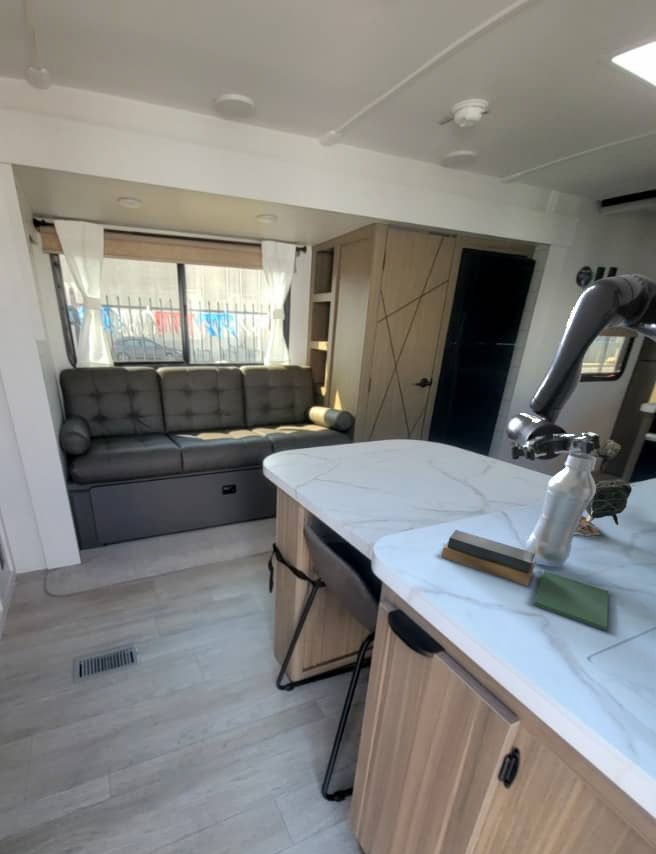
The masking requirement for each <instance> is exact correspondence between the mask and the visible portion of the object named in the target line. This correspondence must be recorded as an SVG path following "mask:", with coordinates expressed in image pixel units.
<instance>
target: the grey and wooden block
mask: <svg viewBox="0 0 656 854" xmlns="http://www.w3.org/2000/svg"><path fill="white" fill-rule="evenodd" d="M534 556H535V553H532V552H529V551H526V550H525V549H521V548H519V547H516V546H512V545H508V544H505V543H502V542H499V541H495V540H493V539H489V538H485V537H482V536H478V535H475V534H472V533H468V532H465V531H462V530H458V529H455V530H454V532H452V534H451V535H450V536H449V538H448V540H447V542H446V544H445V545H444V546H443V548H442V553H441V555H440V557H441V558H444V559H447V560H450V561H453V562H455V563H459V564H462V565H464V566H468V567H470V568H474V569H476V570H479V571H482V572H485V573H488V574H492V575H494V576H497V577H499V578H503V579H506V580H509V581H512V582H515V583H518V584H520V585H524V586H527V587H528V586H529V584H530V582H531V581H530V580H531V578H532V575H533V572H534V569H535V566H536V562H534V561H533V559H534Z"/></svg>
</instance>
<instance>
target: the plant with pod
mask: <svg viewBox="0 0 656 854" xmlns="http://www.w3.org/2000/svg"><path fill="white" fill-rule="evenodd" d="M621 448H622V447H621V445H620V444H619V443H617V442H615V440H613V439H606V440H604V442H603V443H602V444H601V445H600V448H598V449H596V450H595V452H596V453H595V454H594V455H593V456H594V457H596V458H602V459H604V462H603V465H602V467H601V470H600V472H599V475H598V477H597V479H596V480H595V481H594V482H595V485H596V493H595V494H594V496H593V498H592V500H591V501H590V503H589V504H588V506H587V508H586V509H585V511H586V512H587V516H584V515H582V516H581V518H580V520H579V522H578V524H577V526H576V529H575V533H574V535H579V536H584V537H591V536H599V535H604V533H602V532H601V531H600V530H598V528H597V527H596V525H594V523H592V522H593V521H594V520H595V519H601V518H605V517H612V519H613V521H614V524H615V525H616V526H619V524H620V523H619V521H618V520H619V518H618V515H619V514H622V513H623V512H624V511H625V509H626V508H627V504H628V499H629V498H630V495H631V493H632V490H633V488H632V486H633V487H635V484H632V486H631V484H630V483H628V482H626V481H625V480H623V479H609V480H607V479H603V480H601V478H602V476H603V474H604V471H605V469H606V467H607V465H608V462H609V461H610V460H613V459H614V458H615V457H616V456H617V454H618V453H619V452H620V450H621Z"/></svg>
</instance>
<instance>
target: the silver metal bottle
mask: <svg viewBox="0 0 656 854" xmlns="http://www.w3.org/2000/svg"><path fill="white" fill-rule="evenodd" d="M596 463H597V457H594V455H591V454H585V453H580V452H574V453H568V455H567V458H566V460H565V462H564V466H565V468H563V469H561V470H560V471H559V472H557V473H556V474H554V475H553V476H552V477H551V478H550V479H549V481H548V482H547V486H546V487H547V488H546V492H545V497H544V503H543V505H542V510H541V513H540V516H539V518H538V520H537V522H536V525H535V527H534V529H533V531H532V533H531V534H530V535H529V537H528V539H527V540H526V542H525V547H524V550H526V551H529V552H532V553H535V556H534V559H533V563H535V564H539V565H542V566H545V567H551V568H555V567H556V568H557V567H560V566H561V565H563V564H565V563H566V562H567V560H568V559H569V557H570V555H571V551H572V542H573V539H574V537H575V534H574V533H575V529H576V526H577V524H578V522H579V520H580V518H581V516H583V514H584V512H585V511H586V508H587V506H588V504H589V503H590V501H591V500H592V498H593V496H594V494H595V493H596V485H595V482H596V481H595V479H594V478H593V477H594V476H592V473H591V472H592V471H594V469H595V465H596Z"/></svg>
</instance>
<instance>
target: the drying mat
mask: <svg viewBox="0 0 656 854" xmlns="http://www.w3.org/2000/svg"><path fill="white" fill-rule="evenodd" d="M537 588H538V589H537V591H536V595H535V598H534V602H533V605H534V606H536V607H538V608H542V609H545V610H547V611H550V612H552V613H555V614H558V615H561V616H564V617H567V618H570V619H572V620H574V621H578V622H580V623H584V624H586V625H588V626H591V627H595V628H598V629H600V630H602V631H607V629H608V615H609V613H608V612H609V590H607V589H605V588H604V589H603V588H600V587H597V586H593V585H591V584H588V583H584V582H581V581H578V580H575V579H571V578H568V577H565V576H562V575H559V574H556V573H552V572H550V571H546V570H543V571H542V574H541V577H540V581H539V585H538V587H537Z"/></svg>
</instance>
